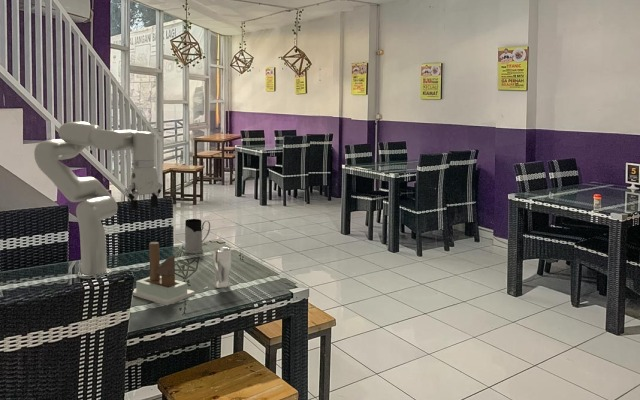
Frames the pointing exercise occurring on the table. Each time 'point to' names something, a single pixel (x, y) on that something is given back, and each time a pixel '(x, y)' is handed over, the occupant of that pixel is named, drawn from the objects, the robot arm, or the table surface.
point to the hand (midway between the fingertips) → (144, 208)
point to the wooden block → (161, 267)
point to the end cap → (162, 291)
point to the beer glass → (222, 266)
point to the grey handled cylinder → (194, 235)
